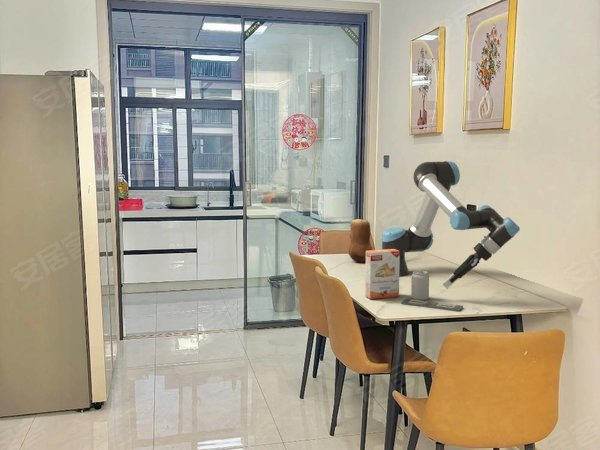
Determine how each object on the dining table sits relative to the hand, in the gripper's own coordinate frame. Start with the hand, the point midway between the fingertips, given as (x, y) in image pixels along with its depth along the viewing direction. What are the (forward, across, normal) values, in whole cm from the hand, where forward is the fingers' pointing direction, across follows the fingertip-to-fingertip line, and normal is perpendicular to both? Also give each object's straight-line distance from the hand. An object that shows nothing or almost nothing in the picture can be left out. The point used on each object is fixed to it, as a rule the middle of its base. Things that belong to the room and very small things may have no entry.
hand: (444, 286), depth 238 cm
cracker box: (+23, -1, -14) cm, 27 cm away
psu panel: (+8, +10, 0) cm, 13 cm away
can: (+12, 0, -3) cm, 12 cm away
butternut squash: (+36, -75, -27) cm, 88 cm away
